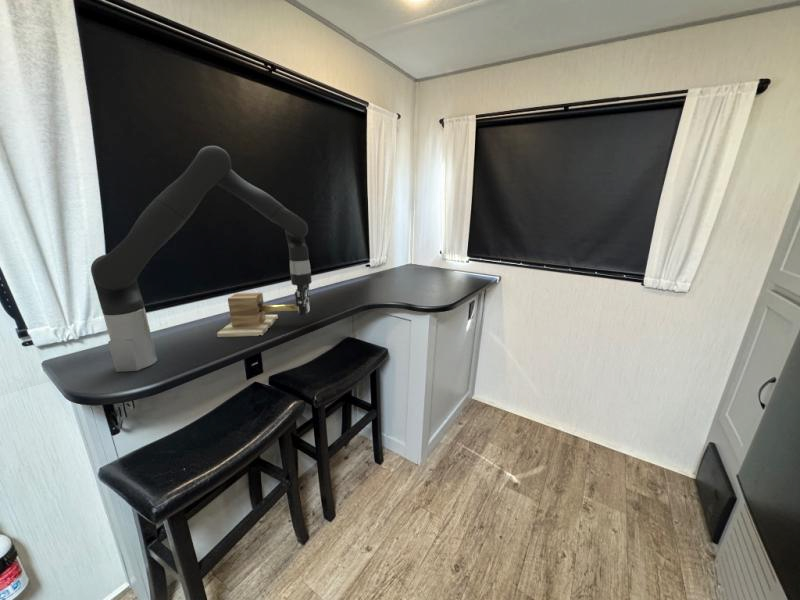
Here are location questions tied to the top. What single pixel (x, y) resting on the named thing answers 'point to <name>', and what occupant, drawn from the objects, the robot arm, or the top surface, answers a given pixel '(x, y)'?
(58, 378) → the top surface
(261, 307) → the bolt
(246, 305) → the block
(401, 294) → the top surface
